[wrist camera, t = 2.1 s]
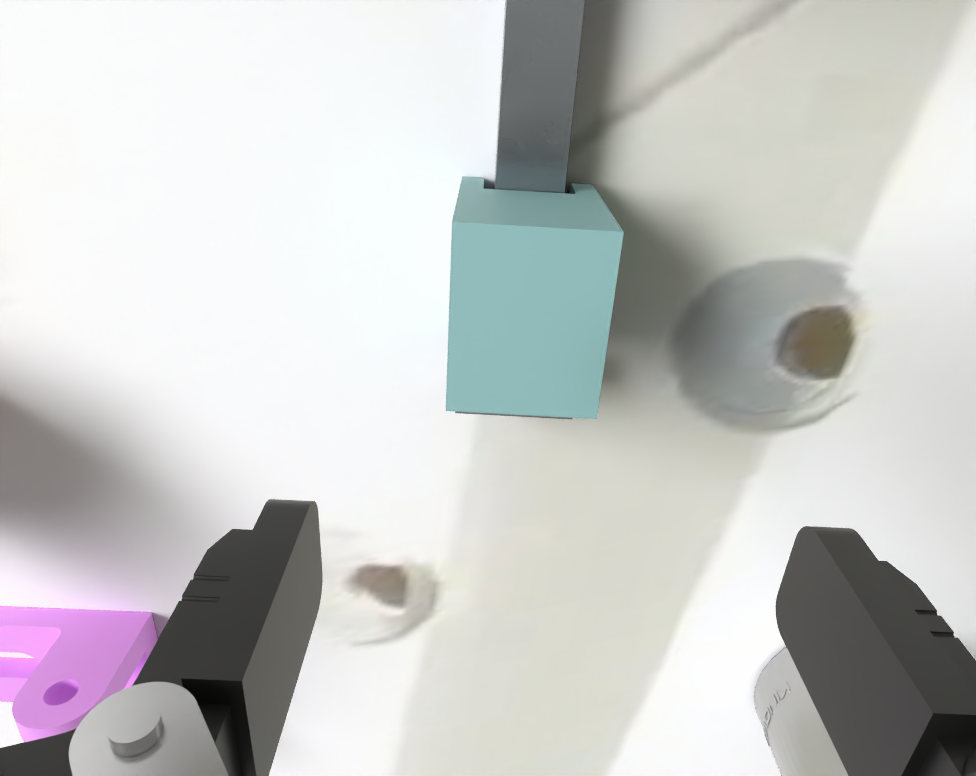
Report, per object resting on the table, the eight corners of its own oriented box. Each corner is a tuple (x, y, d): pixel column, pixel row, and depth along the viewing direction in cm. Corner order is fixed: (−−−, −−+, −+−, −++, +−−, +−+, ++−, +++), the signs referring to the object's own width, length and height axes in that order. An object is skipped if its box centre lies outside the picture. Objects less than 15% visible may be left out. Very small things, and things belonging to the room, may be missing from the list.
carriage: (592, 184, 26) (623, 232, 19) (573, 334, 28) (596, 418, 22) (462, 176, 26) (452, 221, 19) (456, 328, 28) (445, 410, 22)
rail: (636, -237, 20) (662, -287, 17) (563, 377, 29) (572, 419, 26) (485, -247, 20) (484, -301, 17) (459, 371, 29) (455, 413, 26)
